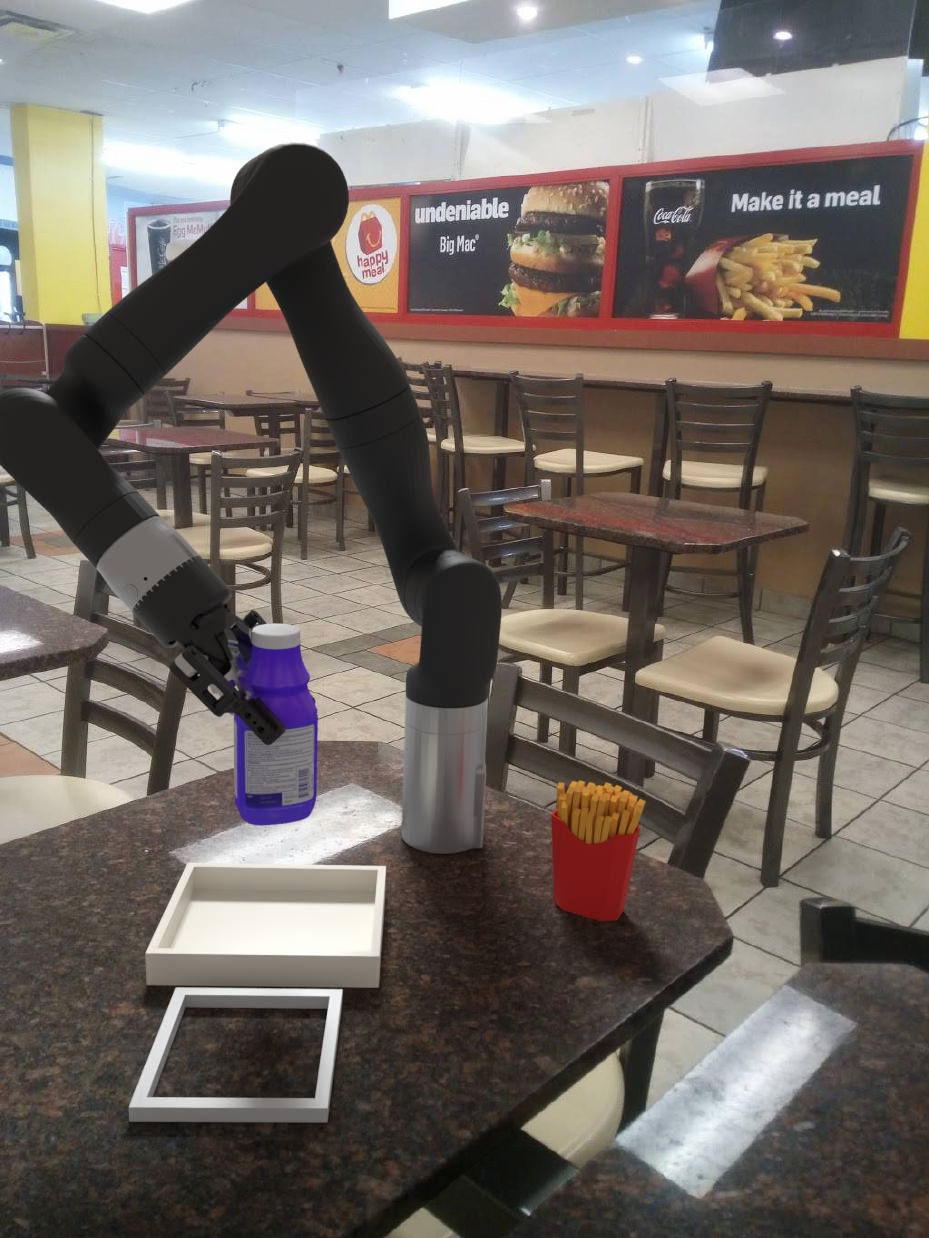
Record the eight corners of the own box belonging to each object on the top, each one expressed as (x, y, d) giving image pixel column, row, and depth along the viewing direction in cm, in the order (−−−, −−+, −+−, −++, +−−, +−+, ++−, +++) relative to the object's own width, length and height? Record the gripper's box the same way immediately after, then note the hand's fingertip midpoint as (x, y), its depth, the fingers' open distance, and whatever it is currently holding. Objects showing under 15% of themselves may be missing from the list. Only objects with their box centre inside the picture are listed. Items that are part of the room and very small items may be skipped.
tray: (385, 893, 103) (386, 866, 102) (378, 987, 87) (379, 956, 86) (188, 890, 102) (187, 862, 101) (146, 984, 86) (145, 953, 85)
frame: (342, 1001, 85) (342, 989, 85) (327, 1122, 72) (327, 1108, 71) (176, 999, 84) (175, 987, 84) (129, 1121, 71) (128, 1107, 71)
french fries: (541, 904, 102) (549, 786, 99) (557, 885, 106) (565, 771, 102) (627, 929, 98) (638, 807, 95) (640, 909, 102) (652, 791, 98)
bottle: (308, 796, 94) (308, 617, 89) (323, 823, 89) (324, 634, 84) (230, 806, 91) (226, 622, 87) (241, 834, 86) (237, 640, 82)
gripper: (149, 570, 79) (292, 726, 79) (228, 540, 92) (348, 673, 93) (92, 629, 81) (231, 780, 82) (176, 591, 95) (295, 721, 95)
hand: (293, 723), depth 87 cm, fingers closed on bottle, 6 cm apart
